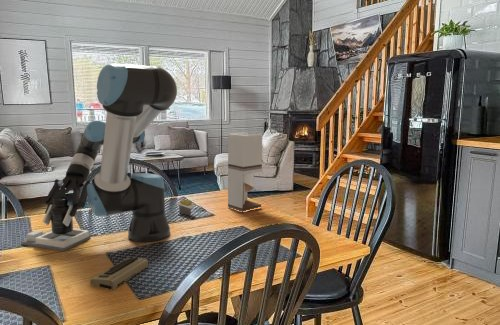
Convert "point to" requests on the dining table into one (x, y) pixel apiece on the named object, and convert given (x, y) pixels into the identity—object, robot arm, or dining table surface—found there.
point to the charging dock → (56, 239)
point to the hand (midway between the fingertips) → (55, 223)
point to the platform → (185, 207)
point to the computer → (119, 273)
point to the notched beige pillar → (243, 168)
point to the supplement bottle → (60, 216)
